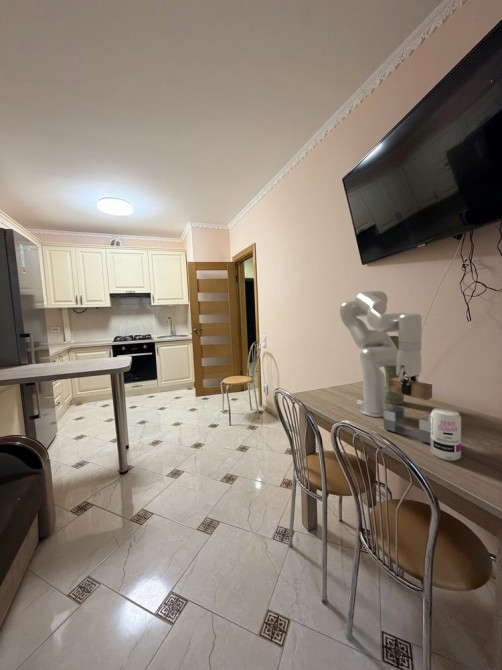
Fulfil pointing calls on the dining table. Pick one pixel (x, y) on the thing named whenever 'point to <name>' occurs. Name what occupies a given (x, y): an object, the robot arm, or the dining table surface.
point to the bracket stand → (396, 423)
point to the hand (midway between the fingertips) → (409, 392)
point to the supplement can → (446, 434)
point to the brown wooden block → (412, 388)
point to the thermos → (390, 373)
